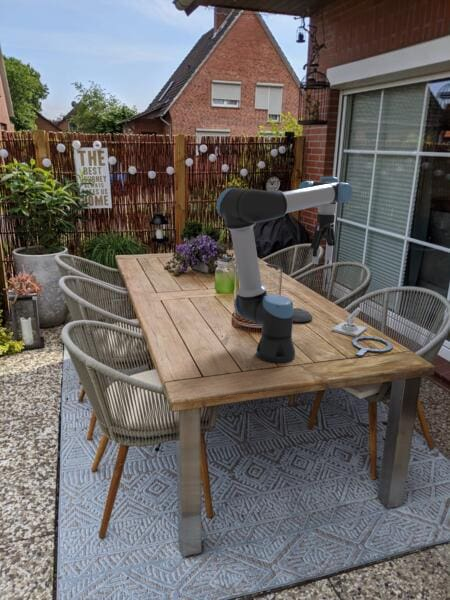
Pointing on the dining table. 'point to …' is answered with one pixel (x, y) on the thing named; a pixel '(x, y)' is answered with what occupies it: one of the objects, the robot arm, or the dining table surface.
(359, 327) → the tile
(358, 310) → the hook
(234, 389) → the dining table surface
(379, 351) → the eye ring
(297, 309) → the flying saucer
